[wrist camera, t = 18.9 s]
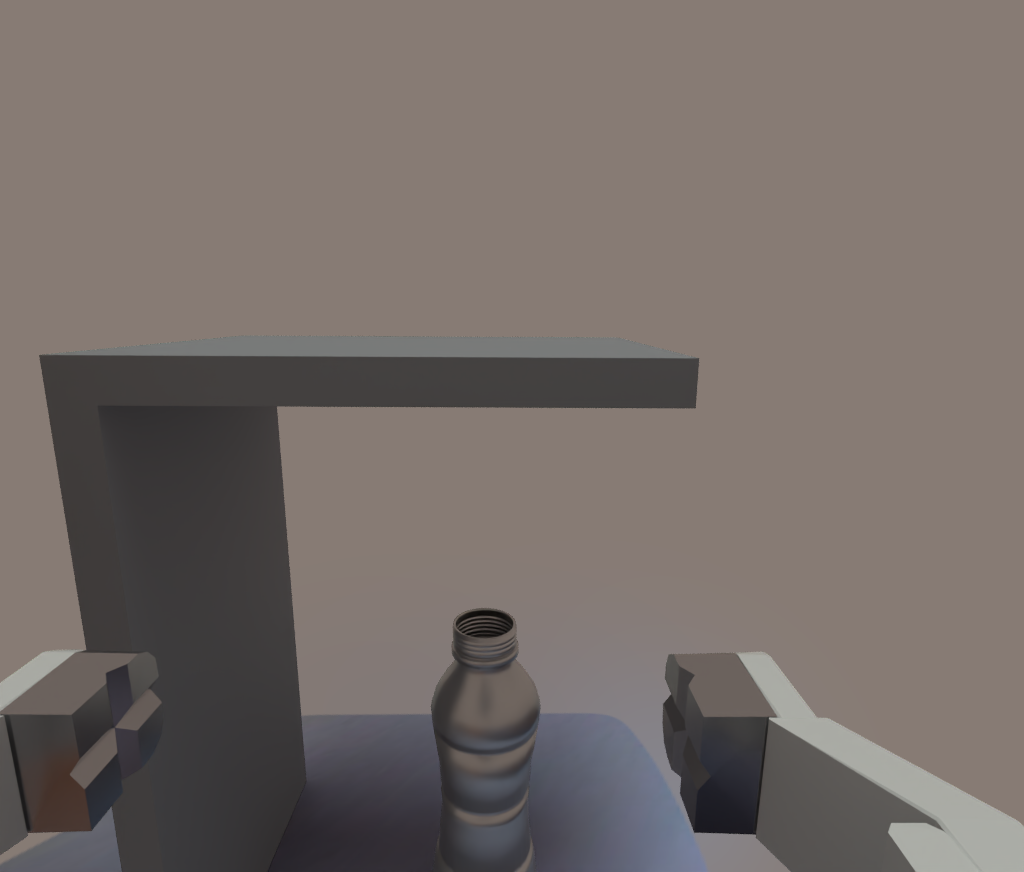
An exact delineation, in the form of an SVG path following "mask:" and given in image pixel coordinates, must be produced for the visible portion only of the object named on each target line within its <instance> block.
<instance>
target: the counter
mask: <svg viewBox="0 0 1024 872" xmlns="http://www.w3.org/2000/svg"><path fill="white" fill-rule="evenodd" d="M39 357H40V363H41V369H42V375H43V382H44V388H45V394H46V400H47V407H48V413H49V419H50V425H51V432H52V438H53V444H54V450H55V456H56V462H57V469H58V475H59V481H60V488H61V494H62V500H63V506H64V513H65V518H66V524H67V531H68V538H69V544H70V550H71V556H72V562H73V569H74V575H75V581H76V587H77V594H78V600H79V606H80V612H81V619H82V625H83V631H84V637H85V644H86V650H104V651H145V652H149V653H150V654H151V655H152V656H154V657H155V659H156V664H157V670H158V675H159V677H158V679H157V680H156V682H155V683H154V685H153V686H152V688H151V690H152V691H153V693H154V694H155V695H156V696H157V697H158V698H159V699H160V700H161V702H162V706H163V714H164V719H163V728H162V734H161V737H160V739H159V742H158V744H157V747H156V749H155V752H154V754H153V755H152V756H151V757H150V759H149V760H148V761H147V763H146V764H145V765H144V767H143V768H142V769H140V770H138V771H137V772H135V773H133V774H132V775H130V776H128V777H126V778H125V779H123V780H122V785H123V793H122V794H121V795H120V797H119V798H118V799H117V800H116V801H115V803H114V804H113V805H112V812H113V818H114V824H115V831H116V837H117V843H118V849H119V855H120V862H121V868H122V872H267V871H268V869H269V866H270V864H271V862H272V859H273V857H274V855H275V853H276V850H277V848H278V846H279V843H280V841H281V839H282V836H283V834H284V832H285V829H286V827H287V825H288V823H289V820H290V818H291V816H292V813H293V811H294V809H295V806H296V804H297V802H298V799H299V797H300V795H301V793H302V790H303V788H304V786H305V783H306V771H305V758H304V746H303V733H302V720H301V709H300V708H301V707H300V695H299V682H298V670H297V657H296V644H295V631H294V619H293V606H292V593H291V580H290V567H289V555H288V542H287V529H286V517H285V505H284V492H283V479H282V466H281V453H280V441H279V429H278V416H277V406H307V407H308V406H309V407H310V406H311V407H313V406H314V407H516V408H517V407H519V408H523V407H525V408H526V407H527V408H528V407H529V408H532V407H533V408H534V407H535V408H538V407H539V408H696V394H697V381H698V367H699V358H695V357H692V356H688V355H684V354H680V353H676V352H672V351H668V350H664V349H660V348H656V347H653V346H648V345H645V344H641V343H637V342H633V341H629V340H625V339H621V338H583V337H581V338H580V337H573V338H572V337H571V338H570V337H569V338H568V337H567V338H566V337H391V336H390V337H388V336H387V337H386V336H383V337H382V336H235V337H224V338H213V339H203V340H192V341H182V342H171V343H160V344H150V345H140V346H129V347H118V348H108V349H97V350H87V351H76V352H66V353H55V354H46V355H39Z"/></svg>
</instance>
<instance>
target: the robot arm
mask: <svg viewBox="0 0 1024 872" xmlns="http://www.w3.org/2000/svg"><path fill="white" fill-rule="evenodd" d="M158 677H159V675H158V670H157V664H156V659H155V657H154V656H152V655H151V654H150V653H149V652H145V651H104V650H85V651H84V650H53V651H46V652H43V653H41V654H40V655H39V656H37V657H36V658H34V659H33V660H31V661H30V662H29V663H27V664H26V665H25V666H23V667H22V668H20V669H19V670H18V671H16V672H15V673H13V674H12V675H11V676H9V677H8V678H7V679H5V680H4V681H2V682H1V683H0V855H1V854H2V853H4V852H5V851H7V850H8V849H10V848H11V847H13V846H14V845H16V844H17V843H19V842H20V841H21V840H23V839H24V838H26V837H27V836H28V833H40V832H75V831H92V830H93V829H94V827H95V826H96V825H97V824H98V822H99V821H100V820H101V819H102V817H103V816H104V815H105V814H106V813H107V811H108V810H109V809H110V808H111V806H112V805H113V804H114V803H115V801H116V800H117V799H118V798H119V797H120V795H121V794H122V793H123V785H122V780H123V779H125V778H126V777H128V776H130V775H132V774H133V773H135V772H137V771H138V770H140V769H142V768H143V767H144V765H145V764H146V763H147V761H148V760H149V759H150V757H151V756H152V755H153V754H154V752H155V749H156V747H157V744H158V742H159V739H160V737H161V734H162V728H163V719H164V714H163V706H162V702H161V700H160V699H159V698H158V697H157V696H156V695H155V694H154V693H153V691H152V690H151V688H152V686H153V685H154V683H155V682H156V680H157V679H158ZM665 680H666V682H667V684H668V687H669V689H670V692H671V695H670V696H669V698H668V699H667V700H666V701H665V703H664V704H663V733H664V744H665V748H666V753H667V757H668V760H669V763H670V766H671V769H672V770H673V771H674V772H675V773H677V774H678V775H679V776H680V777H681V788H680V794H681V797H682V800H683V803H684V806H685V808H686V811H687V814H688V817H689V820H690V822H691V825H692V828H693V831H694V833H727V834H755V835H756V838H757V839H758V840H759V841H760V842H761V843H762V844H763V845H764V846H765V847H766V848H767V849H768V850H769V851H770V852H771V853H772V854H773V855H774V856H775V857H776V858H777V859H778V860H779V861H780V862H781V863H783V864H784V865H785V866H786V867H787V868H788V869H789V870H790V871H791V872H1024V826H1023V825H1022V824H1021V823H1020V822H1018V821H1017V820H1015V819H1013V818H1012V817H1010V816H1008V815H1006V814H1004V813H1002V812H1000V811H999V810H997V809H995V808H993V807H991V806H989V805H988V804H986V803H984V802H982V801H980V800H978V799H977V798H975V797H973V796H971V795H969V794H967V793H965V792H964V791H962V790H960V789H958V788H956V787H954V786H952V785H951V784H949V783H947V782H945V781H943V780H941V779H940V778H938V777H936V776H934V775H932V774H930V773H928V772H927V771H925V770H923V769H921V768H919V767H917V766H915V765H913V764H912V763H910V762H908V761H906V760H904V759H903V758H901V757H899V756H897V755H895V754H893V753H891V752H889V751H888V750H886V749H884V748H882V747H880V746H879V745H877V744H875V743H873V742H871V741H869V740H867V739H866V738H863V737H862V736H860V735H858V734H856V733H854V732H853V731H851V730H849V729H847V728H845V727H843V726H842V725H840V724H838V723H836V722H834V721H832V720H830V719H829V718H817V717H816V715H815V714H814V713H813V712H812V710H811V709H810V708H809V706H808V705H807V704H806V703H805V701H804V700H803V698H802V697H801V696H800V695H799V693H798V692H797V691H796V690H795V688H794V687H793V685H792V684H791V683H790V682H789V680H788V679H787V678H786V676H785V675H784V674H783V672H782V671H781V670H780V668H779V667H778V666H777V665H776V663H775V662H774V661H773V659H772V658H771V657H770V655H768V654H766V653H764V652H743V653H713V654H712V653H710V654H670V655H669V656H668V659H667V663H666V673H665Z"/></svg>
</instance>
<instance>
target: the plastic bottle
mask: <svg viewBox="0 0 1024 872" xmlns="http://www.w3.org/2000/svg"><path fill="white" fill-rule="evenodd" d="M452 655H453V657H454V659H455V660H454V662H453V663H452V664H451V665H450V666H449V667H448V669H447V670H446V672H445V673H444V674H443V676H442V677H441V679H440V680H439V682H438V684H437V686H436V689H435V692H434V696H433V699H432V704H431V711H432V721H433V727H434V733H435V738H436V744H437V750H438V755H439V761H440V775H441V790H442V808H441V820H440V832H439V837H438V840H437V844H436V849H435V856H434V864H433V872H537V871H536V860H535V852H534V846H533V842H532V838H531V834H530V821H529V807H528V794H529V781H530V770H531V759H532V754H533V749H534V744H535V738H536V733H537V728H538V723H539V716H540V699H539V696H538V693H537V689H536V686H535V684H534V682H533V680H532V679H531V678H530V676H529V675H528V673H527V672H526V671H525V669H524V668H523V667H522V666H521V664H520V663H519V662H518V661H517V660H516V659H515V658H516V657H517V655H518V641H517V639H516V622H515V619H514V618H513V617H512V616H511V615H510V614H508V613H506V612H504V611H501V610H497V609H491V608H479V609H472V610H468V611H465V612H463V613H461V614H460V615H458V616H457V617H456V618H455V620H454V623H453V641H452Z"/></svg>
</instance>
